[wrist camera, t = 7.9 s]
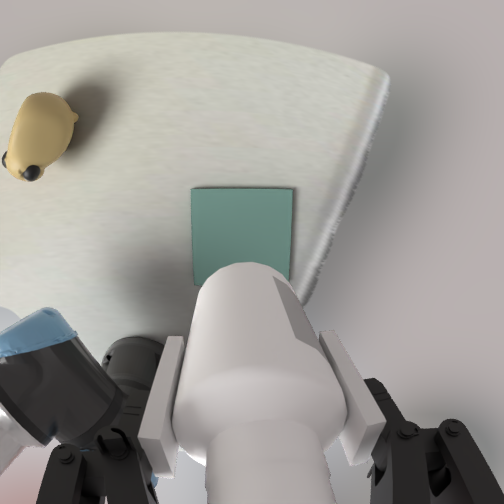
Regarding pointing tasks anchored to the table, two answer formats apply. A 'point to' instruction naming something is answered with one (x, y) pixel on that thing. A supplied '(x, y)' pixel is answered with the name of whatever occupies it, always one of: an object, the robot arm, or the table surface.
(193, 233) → the mat
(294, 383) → the spray bottle
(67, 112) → the toy pig
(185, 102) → the table surface
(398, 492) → the robot arm
